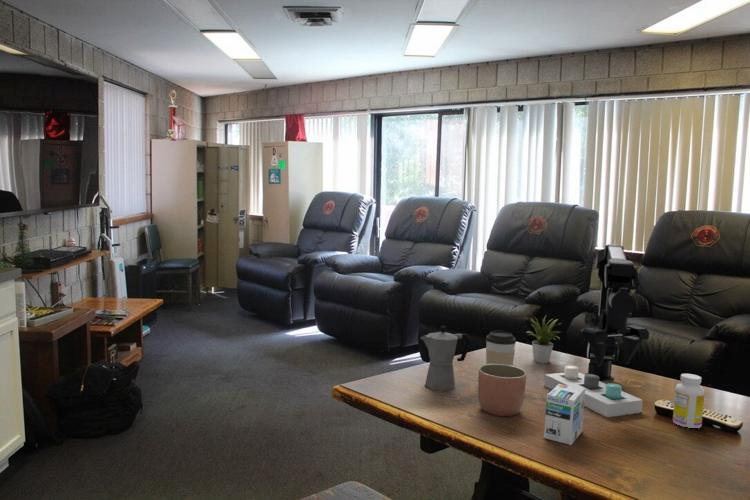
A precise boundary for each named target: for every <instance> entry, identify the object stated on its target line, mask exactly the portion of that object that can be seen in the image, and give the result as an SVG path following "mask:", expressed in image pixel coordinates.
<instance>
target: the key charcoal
mask: <svg viewBox="0 0 750 500" xmlns="http://www.w3.org/2000/svg"><path fill="white" fill-rule="evenodd" d="M584 375H585V376H584V387H585V388H587V389H589V390H596V389H599V376H597V375H593V374H585V373H584Z"/></svg>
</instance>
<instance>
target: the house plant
mask: <svg viewBox="0 0 750 500" xmlns="http://www.w3.org/2000/svg"><path fill="white" fill-rule="evenodd" d="M546 317H547V314H546V315H545V316H544V318H542V323H541V324H542V325H540V323H539V321H538V319H537V318H536V317H535V316H533V319H532V318H529V319H530V320H529V319H527V318H526V317H521V318H523V319H524V318H525V319H526V320H527V321H530V322H531V326H532V328H534V330H535V331H534V332H535V334H534V333H533V332H532V331H531V330H527V331H526V332H525V333H527V336H534V337H535V338H536V340H533V341H532V342H531V344H532V356H533V361H534V362H536V363H540V364H549V362H550V360H551V355H552V351H553V348H554V343H552V342H550V340H554V341H557V340H556V338H557V339H558V340H559V341H561V339H560V337H559V336H558V335H557V334H559V333H560V334H561V333H562V332H561V331H559V330H555V331H552V330H553V328H554V327H555V324H556V322H557V321H558V320H559V319H558V318H557V319H555V320H553V318H552V319H550V320H549V322H551V323H550V324H549V322H547V323H546ZM534 318H535V319H534ZM535 320H536V321H535ZM548 324H549V325H548ZM561 324H562V322H560V323H559V325H561Z"/></svg>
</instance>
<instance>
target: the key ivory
mask: <svg viewBox="0 0 750 500" xmlns="http://www.w3.org/2000/svg"><path fill="white" fill-rule="evenodd" d="M563 373H564V378H565V379H567V380H570V381H572V380H578V374H579V373H580V368H579V366H575V365H565V366H564V372H563Z"/></svg>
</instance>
